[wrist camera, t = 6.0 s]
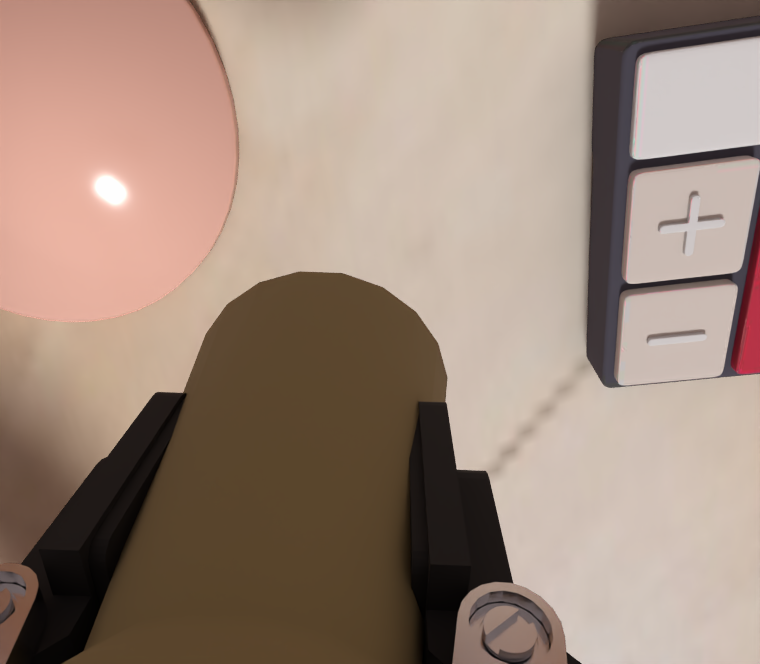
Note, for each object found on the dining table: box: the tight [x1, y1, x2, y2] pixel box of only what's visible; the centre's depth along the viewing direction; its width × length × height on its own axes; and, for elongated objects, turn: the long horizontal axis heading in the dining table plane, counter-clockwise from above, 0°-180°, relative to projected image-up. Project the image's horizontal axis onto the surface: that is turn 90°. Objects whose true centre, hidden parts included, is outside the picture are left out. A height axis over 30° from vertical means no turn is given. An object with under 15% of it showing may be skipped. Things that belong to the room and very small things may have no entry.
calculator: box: [587, 16, 760, 388], centre depth 24 cm, size 11×4×15 cm
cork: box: [62, 272, 447, 664], centre depth 9 cm, size 6×6×11 cm
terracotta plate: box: [0, 0, 239, 322], centre depth 24 cm, size 18×18×1 cm
